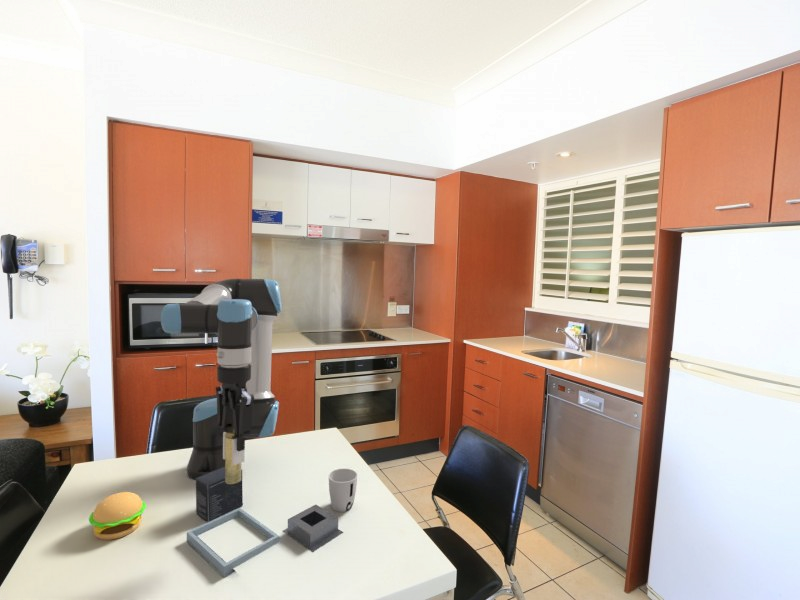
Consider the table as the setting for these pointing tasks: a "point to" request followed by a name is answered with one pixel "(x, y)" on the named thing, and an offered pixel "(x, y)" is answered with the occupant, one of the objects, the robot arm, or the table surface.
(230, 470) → the pin
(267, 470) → the table surface
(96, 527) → the hamburger
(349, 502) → the cup
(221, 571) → the tray
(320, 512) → the block
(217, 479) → the box
